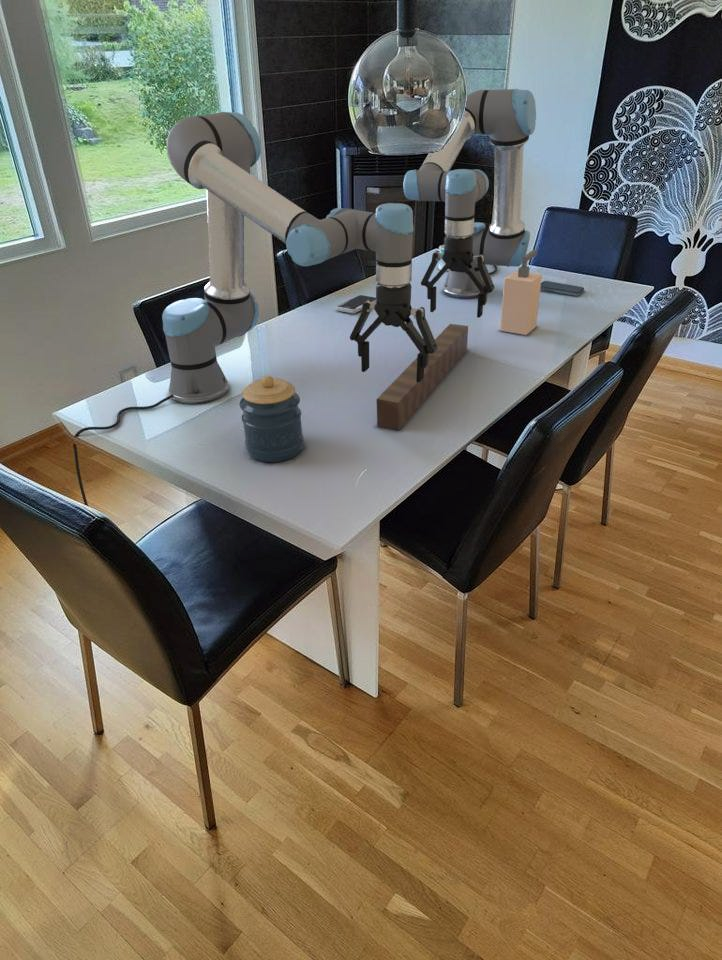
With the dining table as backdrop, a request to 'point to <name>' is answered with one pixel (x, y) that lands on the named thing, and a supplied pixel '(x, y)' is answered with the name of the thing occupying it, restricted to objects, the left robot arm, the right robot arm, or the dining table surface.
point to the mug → (441, 261)
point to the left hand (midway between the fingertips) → (392, 374)
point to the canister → (271, 420)
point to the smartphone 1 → (354, 304)
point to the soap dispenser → (521, 299)
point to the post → (409, 393)
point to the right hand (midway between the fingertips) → (456, 313)
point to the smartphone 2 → (561, 288)
